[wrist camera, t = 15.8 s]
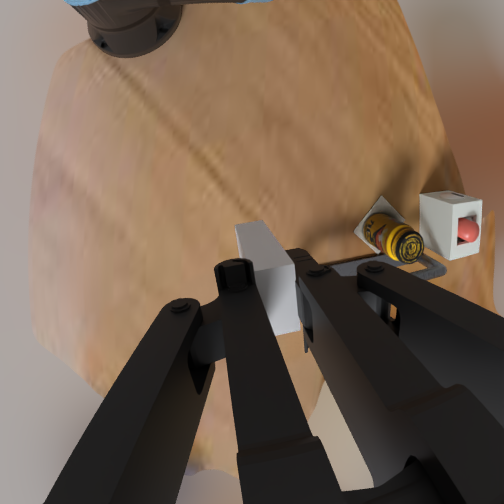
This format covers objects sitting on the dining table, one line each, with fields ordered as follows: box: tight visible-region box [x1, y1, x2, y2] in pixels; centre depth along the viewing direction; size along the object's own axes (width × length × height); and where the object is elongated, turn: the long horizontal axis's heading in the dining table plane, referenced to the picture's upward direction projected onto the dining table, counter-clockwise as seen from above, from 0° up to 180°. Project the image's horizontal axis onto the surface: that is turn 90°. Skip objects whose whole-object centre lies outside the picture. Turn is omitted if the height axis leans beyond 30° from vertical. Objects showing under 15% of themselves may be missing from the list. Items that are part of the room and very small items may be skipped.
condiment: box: [354, 195, 424, 264], centre depth 50 cm, size 7×8×12 cm
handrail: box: [328, 253, 447, 280], centre depth 53 cm, size 28×3×10 cm, turn 98°
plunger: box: [457, 217, 480, 243], centre depth 50 cm, size 4×4×9 cm
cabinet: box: [420, 190, 482, 260], centre depth 52 cm, size 11×8×10 cm
